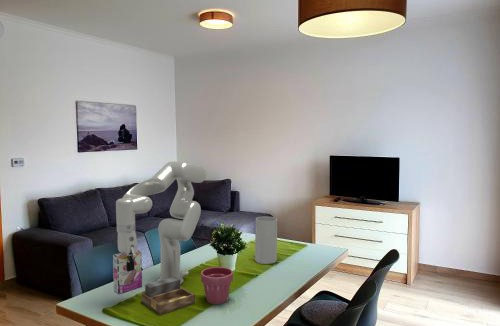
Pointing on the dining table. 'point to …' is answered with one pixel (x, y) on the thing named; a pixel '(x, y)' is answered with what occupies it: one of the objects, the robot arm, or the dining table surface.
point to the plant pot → (216, 283)
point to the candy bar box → (126, 273)
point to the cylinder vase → (266, 240)
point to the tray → (166, 296)
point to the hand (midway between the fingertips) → (127, 268)
